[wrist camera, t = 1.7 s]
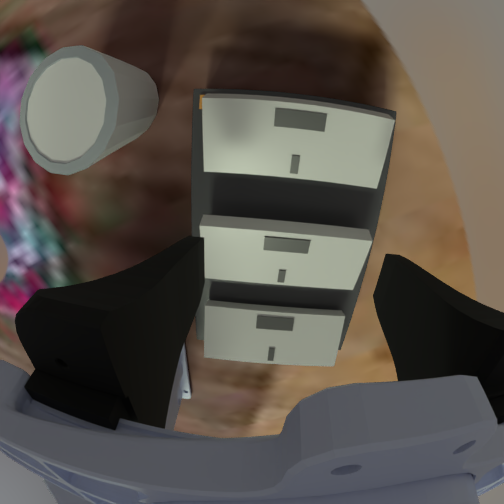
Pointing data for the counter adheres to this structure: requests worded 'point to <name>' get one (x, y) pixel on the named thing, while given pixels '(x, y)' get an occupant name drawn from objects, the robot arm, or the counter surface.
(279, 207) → the filing cabinet
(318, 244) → the filing cabinet drawer
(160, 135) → the counter surface
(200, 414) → the counter surface
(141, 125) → the shot glass
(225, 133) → the cabinet drawer
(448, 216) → the counter surface
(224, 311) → the pale rectangular block
